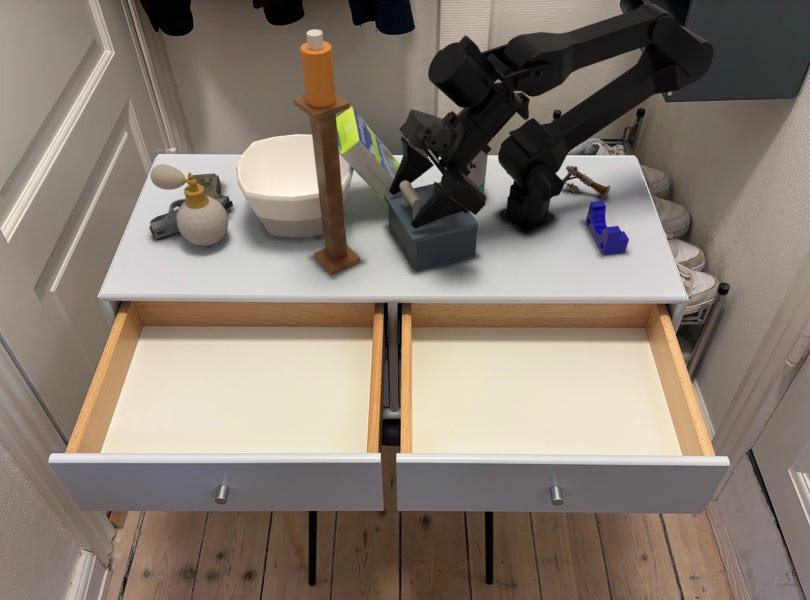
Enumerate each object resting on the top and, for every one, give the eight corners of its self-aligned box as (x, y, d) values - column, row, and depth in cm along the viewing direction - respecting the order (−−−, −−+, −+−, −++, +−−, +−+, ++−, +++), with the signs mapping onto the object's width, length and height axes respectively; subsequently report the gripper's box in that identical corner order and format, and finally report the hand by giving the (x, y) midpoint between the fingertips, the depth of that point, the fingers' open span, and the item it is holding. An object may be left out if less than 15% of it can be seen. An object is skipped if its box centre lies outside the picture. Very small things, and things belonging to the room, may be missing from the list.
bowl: (356, 181, 113) (352, 130, 106) (359, 247, 101) (355, 194, 94) (251, 186, 112) (240, 135, 105) (241, 253, 100) (229, 200, 93)
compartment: (416, 271, 97) (416, 243, 93) (388, 227, 105) (388, 198, 101) (475, 256, 100) (478, 227, 96) (444, 213, 107) (445, 185, 103)
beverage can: (436, 203, 109) (439, 136, 100) (448, 180, 113) (452, 114, 104) (477, 211, 107) (484, 143, 98) (487, 187, 112) (495, 121, 103)
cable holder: (625, 252, 100) (631, 231, 97) (602, 254, 100) (608, 233, 97) (606, 220, 105) (612, 199, 102) (585, 222, 105) (590, 201, 102)
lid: (412, 243, 93) (412, 215, 90) (384, 199, 100) (383, 171, 97) (478, 227, 96) (481, 199, 92) (445, 185, 103) (447, 157, 99)
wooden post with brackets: (554, 180, 111) (570, 160, 108) (594, 204, 112) (611, 184, 109) (552, 186, 110) (568, 165, 107) (593, 210, 111) (610, 190, 108)
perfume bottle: (230, 252, 100) (213, 184, 91) (165, 257, 100) (141, 189, 91) (233, 222, 105) (217, 155, 96) (171, 227, 105) (149, 159, 96)
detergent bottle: (325, 90, 82) (319, 23, 76) (341, 101, 80) (336, 33, 74) (300, 99, 81) (292, 31, 75) (316, 110, 79) (309, 42, 73)
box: (419, 207, 104) (351, 129, 93) (398, 221, 106) (329, 147, 94) (408, 170, 111) (343, 94, 100) (388, 184, 113) (322, 110, 101)
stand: (341, 245, 102) (327, 87, 83) (360, 262, 99) (349, 102, 80) (314, 258, 100) (292, 98, 81) (332, 275, 97) (314, 114, 78)
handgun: (131, 190, 108) (151, 229, 100) (212, 166, 112) (237, 202, 105) (135, 203, 109) (155, 242, 102) (216, 179, 114) (240, 215, 107)
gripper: (413, 60, 90) (341, 149, 96) (471, 125, 79) (386, 222, 84) (462, 105, 98) (393, 185, 104) (521, 170, 86) (440, 256, 92)
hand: (401, 209), depth 96 cm, fingers open, 8 cm apart
